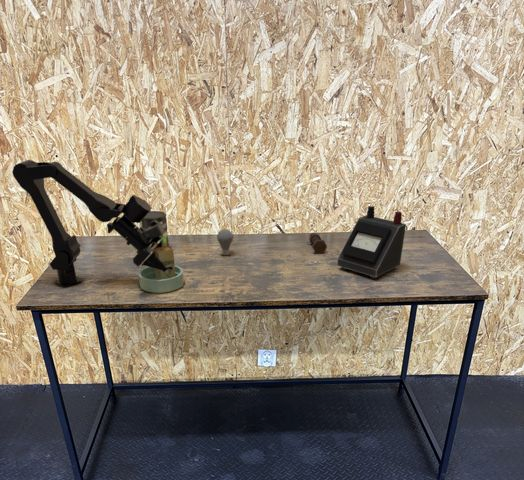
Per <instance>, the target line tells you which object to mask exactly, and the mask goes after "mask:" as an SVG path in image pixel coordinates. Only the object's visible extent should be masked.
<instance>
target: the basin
mask: <svg viewBox="0 0 524 480" xmlns="http://www.w3.org/2000/svg"><path fill="white" fill-rule="evenodd" d="M175 275H176V276H175V277H173V278H169V279H164V280H156V274H155V268H152V267H149V266H145V267H143V268H142V269H140V270H139V271H138V281H139V287H140V289H141V290H143V291H145V292H149V293H154V294H162V293H163V294H164V293H170V292H173V291H176V290H179V289H180V288H182V287H183V286H184V285H185V281H184V271H183V268H182V267H180V266H179V265H176V264H175Z"/></svg>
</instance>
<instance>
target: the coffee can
mask: <svg viewBox="0 0 524 480" xmlns="http://www.w3.org/2000/svg"><path fill="white" fill-rule="evenodd" d="M154 220H157V221H158V222H160V223H161V224H163V226H162V227H163V229H164V231H165V232H163V234H162V235H163V237H162V238H161V239H160V240H159V241H161V240H162V239H163V247H164V246H168V247H169V248H170V245H169V244H170V243H169V233H168V224H167V223H168V222H167V213H166V212H165V211H160V210H159V211H158V210H151V211H150V212H149V213H148V214H147V215H146V216H145V217H144V218H143V220H142V221H141V222H140V223H139V228H140V227H143V228H144V229H147V228H149V227H151V222H152V221H154Z"/></svg>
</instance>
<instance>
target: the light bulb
mask: <svg viewBox="0 0 524 480" xmlns="http://www.w3.org/2000/svg"><path fill="white" fill-rule="evenodd" d="M216 239H217V243H218V244H220V248H221V251H222V252H221V253H222V255H223V256H228V255H230V248H231V244H232V242H233V241H234V235H233V233H232V232H231V230H230V229H227V228H223V229H220V230H219V231H218V232H217V235H216Z"/></svg>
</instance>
